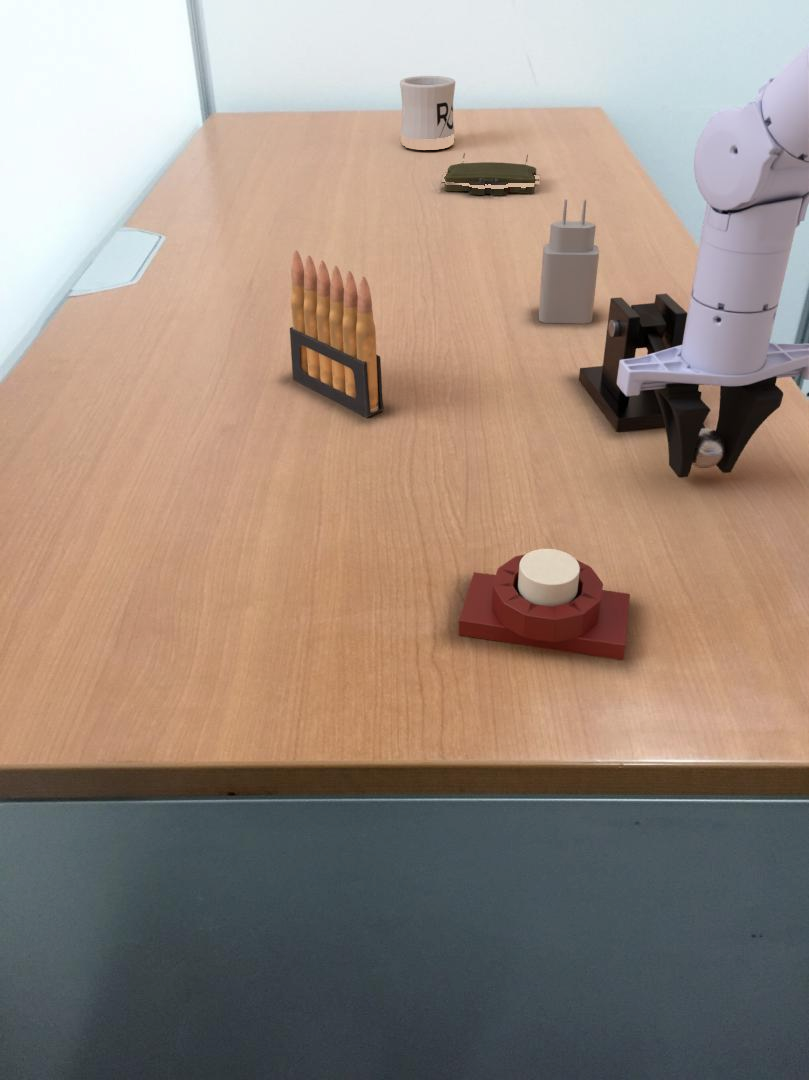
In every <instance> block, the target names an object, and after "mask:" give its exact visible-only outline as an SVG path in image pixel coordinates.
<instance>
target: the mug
mask: <svg viewBox="0 0 809 1080" xmlns="http://www.w3.org/2000/svg"><path fill="white" fill-rule="evenodd" d="M399 86H400V96H401V126H400V136H401V135H403V136H405V137H407V138H413V139H437V138H445V137H448V136H451V135H452V134H454V132H455V124H454V123H455V122H454V98H455V89H456V79H454V78H452V77H447V76H440V75H418V76H417V75H416V76H409V77H405V78H403V79H401V80H400V81H399Z"/></svg>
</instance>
